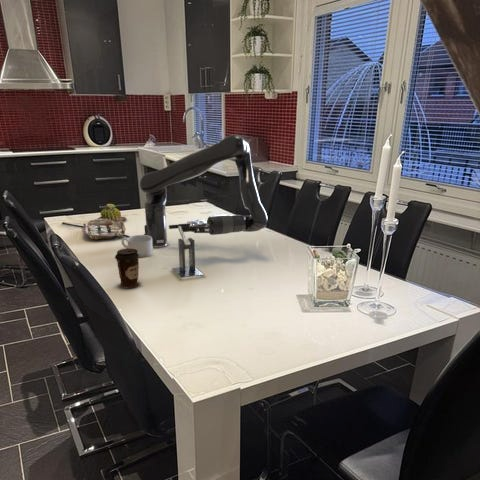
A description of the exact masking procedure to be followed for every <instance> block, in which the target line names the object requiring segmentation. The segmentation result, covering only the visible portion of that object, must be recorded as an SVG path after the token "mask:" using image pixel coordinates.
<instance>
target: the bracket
mask: <svg viewBox="0 0 480 480" xmlns="http://www.w3.org/2000/svg"><path fill="white" fill-rule="evenodd" d="M187 239H189V241H190V244H191V245H190V249H188V266H186V253H185V252H186V249H185V247H184V241H183V239H182V238H178V261H179V262H178V265H179V266H178V267H172V270H173V271H174V273H176V274H177V275H178V277H180V279H181V278H188V277H196V276H204V274H203V272H202V271H200V270H199V269H198V268H197V267H196V252H195V251H196V250H195V247H196V245H195V244H196V243H195V239H194V238H192V237H188V238H187Z"/></svg>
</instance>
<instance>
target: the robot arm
mask: <svg viewBox="0 0 480 480" xmlns="http://www.w3.org/2000/svg"><path fill="white" fill-rule="evenodd" d="M250 148H251V147H250V143H249V141H248V140H247V139H246V138H245V137H243V136H241V135H239V134H236V133H235V134H230V135H228V136H226V137H224V138H222V139H221V140H219V141H218V142H216V143H214V144H212V145H210V146H208V147H205V148H202V149H200V150H198V151H195V152H192V153H190V154H188V155H186V156H184V157H181V158H180V159H177V160H176V161H173V162H172V163H171V164H169V165H167V166H165V167H164V168H161V169H158V170H155V171H151V172H146V173H145V174H144V175H142V177H141V178H140V180H139V188H140V190H141V191H142V192H143V193H144V194H147V198H146V199H145V201H144V214H145V215H144V216H145V224H144V233H143V235H148V236H151V237H152V245H153V248H165V247H167V246H168V231H167V230H168V229H167V214H166V203H167V187H168V186H171V185H173V184H179V183H182V182H184V181H188V180H191V179H194V178H195V177H198V176H201V175H203V174H205V173H206V172H208V171H209V170H210V169H211V168H212V167H213V166H215V165H217V164H219V163H221V162H224V161H226V160H230V159H233V160H234V163H235V165H236V168H237V172H238V180H239V182H238V183H239V192H240V195H241V200H242V202H243V206H244V208H245V209H246V210H248V211H249V214H250V215H242V214H231V215H230V214H222V215H210V216H208V218H207V220H206V221H205V220H204V219H203V220H199V219H196V220H195V219H193V220H189V221H187V222H186V223H185V224H189V226H182V230H183V232H184V233H190V232H191V233H194V234H209V235H211V236H216V235H227V234H232V233H240V232H243V233H245V232H247V233H252V232H258V231H260V230H263V229H264V228H267V225H268V221H269V219H268V215H267V212H266V210H265V208H264V206H263V204H262V203H261V199H260V196H259V191H258V188H257V184H256V181H255V177H254V176H255V175H254V170H253V165H252V158H251V149H250ZM61 225H64V226H65V225H66V226H71V227H76V228H82V229H83V228H84V225H81V224H74V223H68V222H61ZM98 230H100V229H99V228H98ZM108 232H110V233H111V231H109V230H108ZM131 236H132V235H131ZM131 236H130V235H127V234H124V235H122V236H121V237H124V238H125V237H126V238H129V237H131Z"/></svg>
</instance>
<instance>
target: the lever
mask: <svg viewBox="0 0 480 480" xmlns="http://www.w3.org/2000/svg"><path fill="white" fill-rule="evenodd" d="M182 226H189V224H186V223H179V224H169V225H168V229H169V230H173V229H174V230H175V229H178V232H179V234H180V236H181V239H182V240H183V241H184V247H185V250H189V249H190V245H191V244H190V241H189V239H188V238H186V234H185V232H183V230H182Z"/></svg>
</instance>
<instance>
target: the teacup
mask: <svg viewBox="0 0 480 480" xmlns="http://www.w3.org/2000/svg"><path fill="white" fill-rule="evenodd" d="M120 241H121V245H122V246H123V247H124V249H127V248H129V249H136V250H137V251H138V252H137V253H138V254H139V257H138V259H140V258H141V259H143V258H146V257H149V256H150V254H152V252H153V250H154V249H153V248H154V247H153V245H152V237H151V236H148V235H144V234H136V235H135V234H134V235H131V237H129V238H128V237H125V236H124V237H122V239H121V240H120ZM125 241H126V242H127V244H126V243H125Z"/></svg>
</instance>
